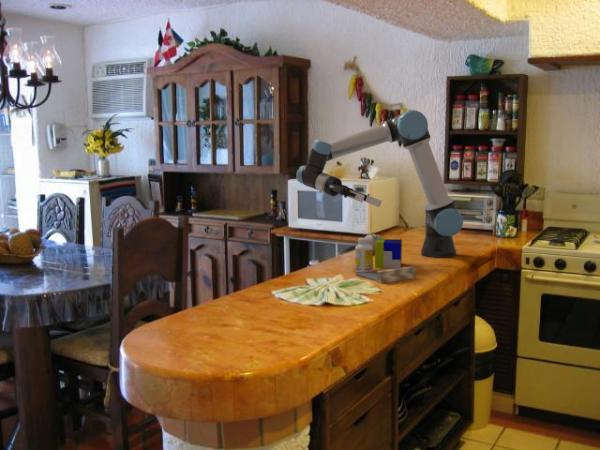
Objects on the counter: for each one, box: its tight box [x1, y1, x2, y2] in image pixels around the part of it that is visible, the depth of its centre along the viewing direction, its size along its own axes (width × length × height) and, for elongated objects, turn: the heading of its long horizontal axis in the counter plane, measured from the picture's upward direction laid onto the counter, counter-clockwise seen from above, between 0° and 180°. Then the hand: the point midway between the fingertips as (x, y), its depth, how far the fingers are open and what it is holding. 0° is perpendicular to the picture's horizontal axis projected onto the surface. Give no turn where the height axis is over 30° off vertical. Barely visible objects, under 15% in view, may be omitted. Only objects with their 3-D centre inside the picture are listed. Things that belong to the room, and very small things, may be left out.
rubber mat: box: [355, 269, 382, 282], centre depth 227 cm, size 14×14×1 cm
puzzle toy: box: [374, 238, 403, 269], centre depth 248 cm, size 10×10×10 cm
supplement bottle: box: [354, 237, 374, 273], centre depth 236 cm, size 7×7×13 cm
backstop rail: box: [376, 265, 416, 284], centre depth 220 cm, size 16×2×4 cm, turn 121°
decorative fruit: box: [364, 233, 383, 255], centre depth 276 cm, size 9×8×10 cm
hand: (371, 201), depth 238 cm, fingers open, 13 cm apart
